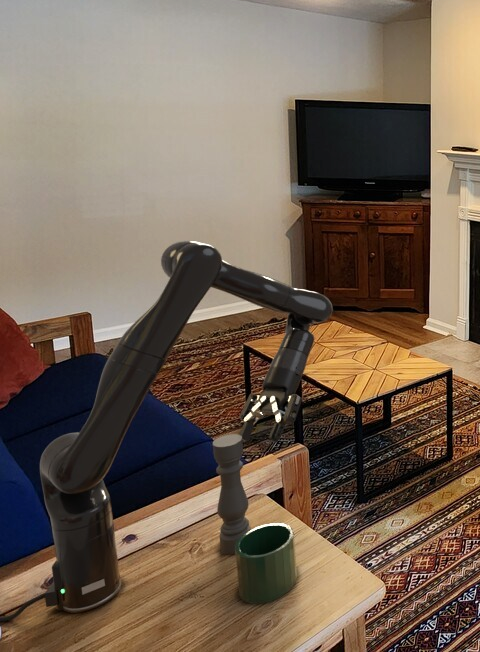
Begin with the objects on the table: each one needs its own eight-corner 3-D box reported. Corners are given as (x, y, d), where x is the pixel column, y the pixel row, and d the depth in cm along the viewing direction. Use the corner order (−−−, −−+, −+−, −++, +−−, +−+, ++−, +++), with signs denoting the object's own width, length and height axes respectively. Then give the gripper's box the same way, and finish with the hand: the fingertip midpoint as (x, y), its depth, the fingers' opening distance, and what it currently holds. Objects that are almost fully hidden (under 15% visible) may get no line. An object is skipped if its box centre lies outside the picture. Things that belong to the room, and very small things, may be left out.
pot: (233, 608, 119) (229, 562, 117) (245, 571, 129) (241, 528, 127) (292, 597, 122) (289, 552, 120) (299, 562, 132) (296, 519, 130)
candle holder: (257, 537, 140) (249, 434, 136) (240, 555, 134) (232, 448, 130) (231, 535, 140) (223, 432, 137) (214, 553, 134) (204, 446, 131)
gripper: (251, 365, 145) (221, 434, 136) (299, 365, 140) (270, 436, 131) (273, 378, 151) (245, 444, 142) (319, 377, 146) (294, 447, 137)
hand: (257, 440), depth 136 cm, fingers open, 8 cm apart
